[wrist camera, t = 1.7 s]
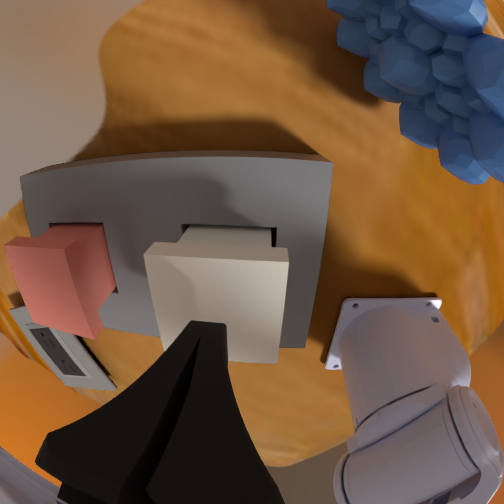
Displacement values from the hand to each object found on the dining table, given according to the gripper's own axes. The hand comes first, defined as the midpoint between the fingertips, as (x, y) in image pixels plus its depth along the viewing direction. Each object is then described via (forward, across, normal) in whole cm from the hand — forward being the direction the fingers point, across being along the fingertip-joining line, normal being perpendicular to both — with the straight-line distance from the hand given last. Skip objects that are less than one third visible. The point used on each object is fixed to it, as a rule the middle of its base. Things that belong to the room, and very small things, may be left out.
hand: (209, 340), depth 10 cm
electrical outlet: (+10, +21, +14) cm, 27 cm away
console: (+9, +5, 0) cm, 10 cm away
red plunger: (+7, +10, 0) cm, 12 cm away
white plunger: (+7, 0, 0) cm, 7 cm away
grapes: (+9, -9, -12) cm, 18 cm away
